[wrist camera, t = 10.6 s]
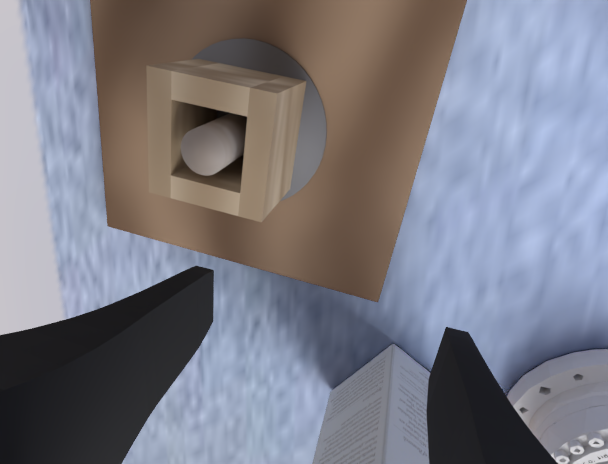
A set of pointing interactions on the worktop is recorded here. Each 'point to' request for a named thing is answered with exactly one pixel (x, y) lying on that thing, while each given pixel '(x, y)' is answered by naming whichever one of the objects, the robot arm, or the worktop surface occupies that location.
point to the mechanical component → (567, 406)
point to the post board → (312, 132)
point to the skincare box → (378, 414)
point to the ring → (203, 108)
